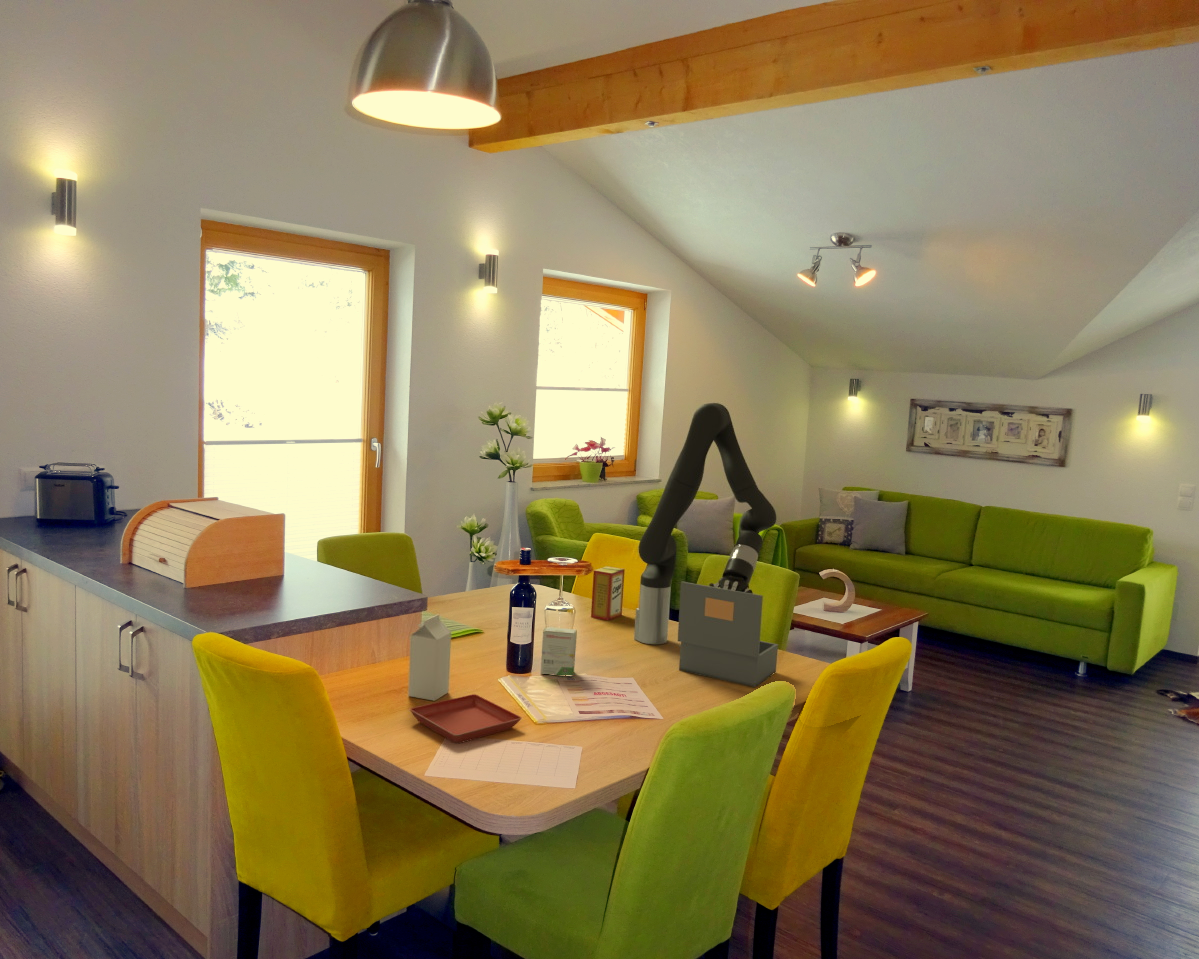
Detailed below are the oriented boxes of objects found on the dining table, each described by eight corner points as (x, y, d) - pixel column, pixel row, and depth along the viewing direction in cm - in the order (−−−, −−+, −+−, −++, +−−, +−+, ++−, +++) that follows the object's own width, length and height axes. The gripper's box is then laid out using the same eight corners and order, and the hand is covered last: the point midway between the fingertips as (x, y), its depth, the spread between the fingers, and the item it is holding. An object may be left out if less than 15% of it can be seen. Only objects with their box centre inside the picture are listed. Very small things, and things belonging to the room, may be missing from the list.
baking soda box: (608, 620, 302) (611, 572, 300) (590, 617, 305) (593, 569, 303) (621, 615, 310) (624, 568, 308) (604, 611, 313) (607, 565, 312)
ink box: (539, 675, 243) (542, 630, 242) (543, 669, 248) (545, 625, 247) (572, 677, 242) (575, 633, 241) (575, 671, 247) (577, 628, 246)
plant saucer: (522, 731, 205) (523, 716, 204) (454, 750, 192) (455, 734, 192) (474, 707, 218) (474, 693, 217) (407, 723, 205) (408, 708, 205)
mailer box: (678, 670, 254) (680, 641, 253) (702, 656, 268) (704, 629, 267) (755, 687, 243) (757, 657, 242) (775, 672, 257) (778, 644, 256)
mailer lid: (678, 640, 253) (677, 641, 252) (681, 581, 251) (680, 581, 250) (758, 657, 241) (757, 658, 241) (762, 595, 239) (761, 596, 239)
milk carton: (448, 692, 225) (452, 616, 223) (434, 701, 219) (437, 622, 217) (423, 688, 228) (426, 612, 226) (407, 696, 221) (410, 618, 219)
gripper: (715, 553, 256) (694, 605, 247) (761, 560, 250) (741, 614, 240) (721, 569, 261) (701, 621, 252) (766, 576, 255) (747, 629, 246)
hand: (721, 617), depth 246 cm, fingers closed
